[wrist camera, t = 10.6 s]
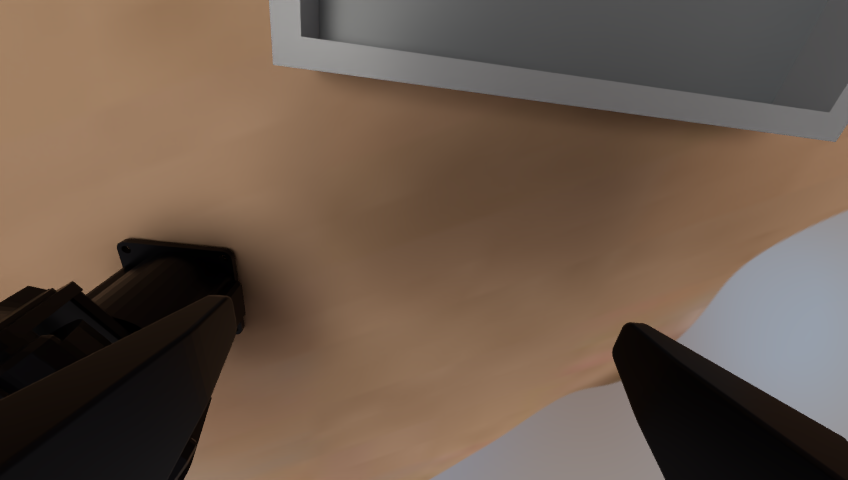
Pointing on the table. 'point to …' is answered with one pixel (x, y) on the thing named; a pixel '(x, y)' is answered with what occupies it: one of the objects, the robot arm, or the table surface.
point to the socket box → (595, 54)
